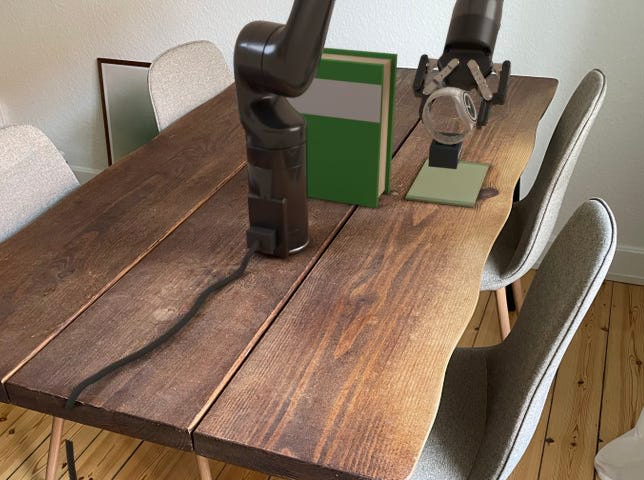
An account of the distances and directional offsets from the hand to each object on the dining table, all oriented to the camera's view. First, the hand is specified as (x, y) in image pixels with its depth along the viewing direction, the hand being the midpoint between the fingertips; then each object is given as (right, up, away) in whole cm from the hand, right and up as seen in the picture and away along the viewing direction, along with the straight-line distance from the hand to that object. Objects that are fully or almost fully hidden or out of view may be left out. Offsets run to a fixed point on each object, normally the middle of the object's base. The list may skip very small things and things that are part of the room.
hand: (451, 124), depth 114 cm
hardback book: (-16, -5, +24) cm, 29 cm away
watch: (0, -5, +3) cm, 6 cm away
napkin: (+5, -3, +26) cm, 27 cm away
